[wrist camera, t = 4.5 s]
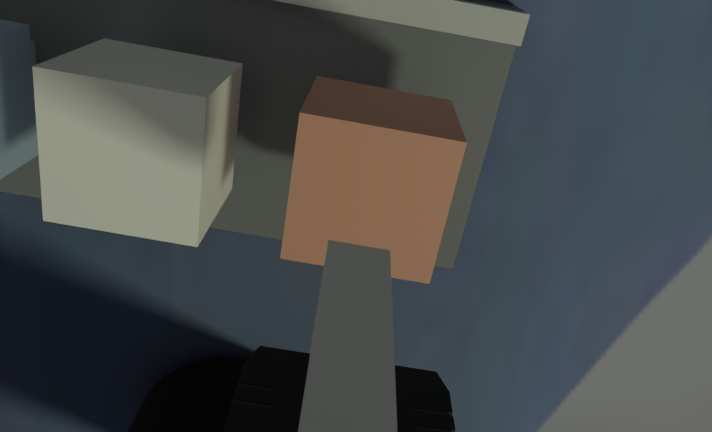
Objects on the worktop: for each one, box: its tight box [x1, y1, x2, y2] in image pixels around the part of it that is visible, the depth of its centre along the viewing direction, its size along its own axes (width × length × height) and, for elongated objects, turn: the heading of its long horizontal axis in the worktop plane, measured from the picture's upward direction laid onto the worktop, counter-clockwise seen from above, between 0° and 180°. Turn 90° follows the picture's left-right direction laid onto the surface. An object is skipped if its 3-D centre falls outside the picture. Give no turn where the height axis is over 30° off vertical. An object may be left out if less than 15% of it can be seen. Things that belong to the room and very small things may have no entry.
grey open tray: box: [0, 0, 530, 269], centre depth 25 cm, size 26×12×6 cm, turn 80°
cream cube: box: [32, 38, 243, 247], centre depth 21 cm, size 5×5×5 cm
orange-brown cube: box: [280, 76, 467, 284], centre depth 21 cm, size 5×5×5 cm
